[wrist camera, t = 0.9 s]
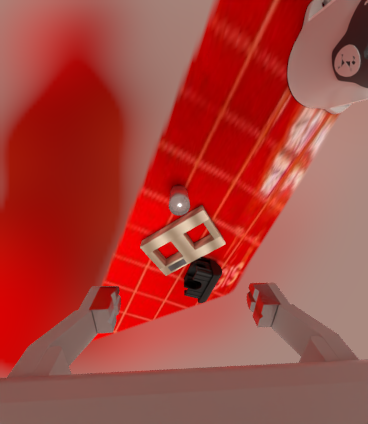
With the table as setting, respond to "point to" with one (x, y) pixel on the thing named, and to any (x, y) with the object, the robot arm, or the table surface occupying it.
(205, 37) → the table surface
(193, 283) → the end cap
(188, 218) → the beige rectangular frame
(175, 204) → the metal pin
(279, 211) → the table surface
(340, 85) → the robot arm
